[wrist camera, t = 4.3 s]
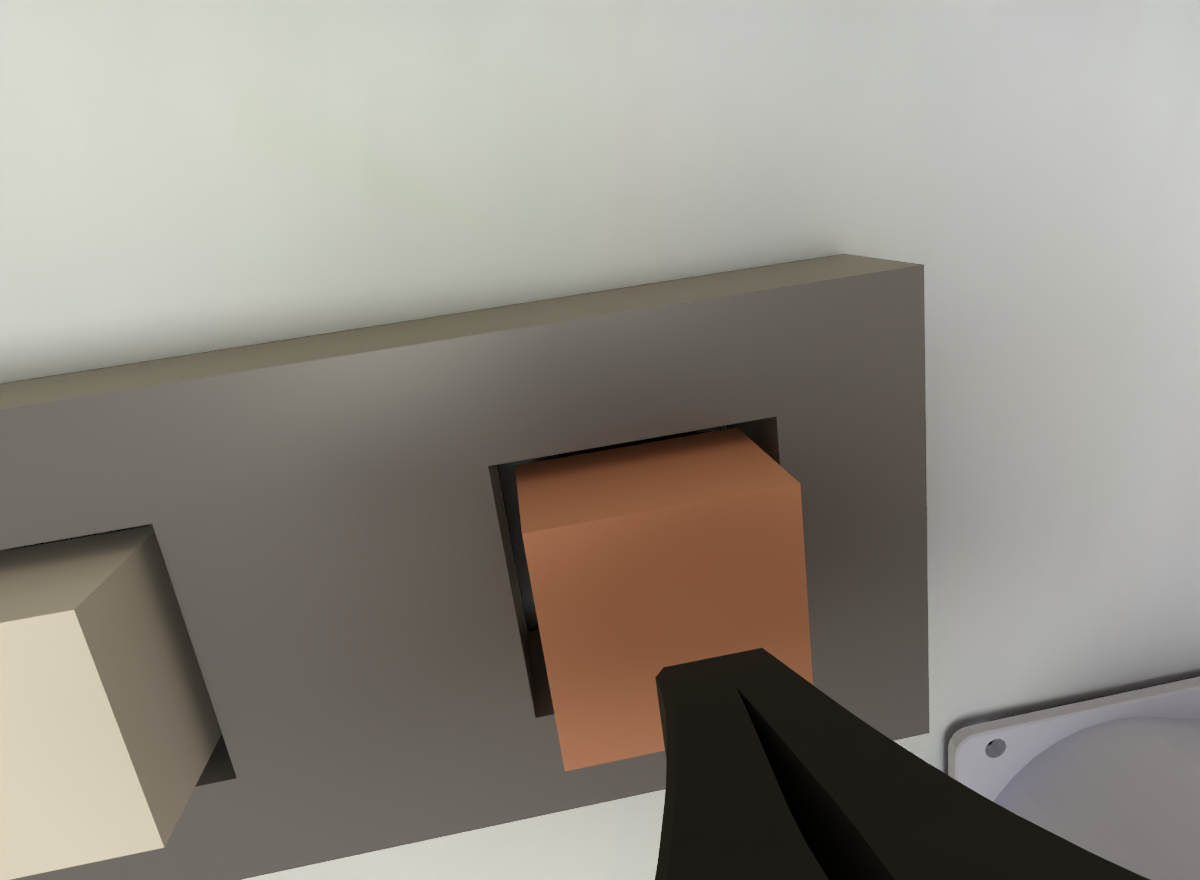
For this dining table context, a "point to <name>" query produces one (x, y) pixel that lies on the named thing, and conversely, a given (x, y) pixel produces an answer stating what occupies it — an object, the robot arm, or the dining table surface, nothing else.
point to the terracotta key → (657, 577)
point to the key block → (467, 534)
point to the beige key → (95, 703)
